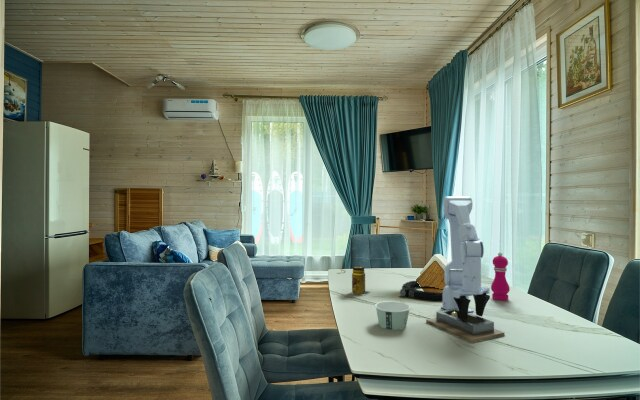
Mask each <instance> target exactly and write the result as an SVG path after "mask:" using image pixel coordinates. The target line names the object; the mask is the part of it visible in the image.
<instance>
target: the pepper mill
mask: <svg viewBox="0 0 640 400" xmlns="http://www.w3.org/2000/svg"><path fill="white" fill-rule="evenodd" d="M492 265H493V266H494V267H493V271H494V273H495V274H494V279H493V281H492V282H491V285H490V289H491V292H492V295H491V296H492V297H491V298H492V299H493V300H495V301H502V302H505V301H508V300H509V295H508V294H509V292H510V290H511V289H510V284H509V283H508V281H507V278H506V272H507V271H508V270H507V266H508V265H509V260H508V259H507V257H505V256H503V253H502V252H498V253H497V256H494V257H493V259H492Z"/></svg>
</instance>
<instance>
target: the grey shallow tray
mask: <svg viewBox="0 0 640 400" xmlns="http://www.w3.org/2000/svg"><path fill="white" fill-rule="evenodd" d="M452 312H456V313H457V318H456V317H454V316H451V313H452ZM435 313H436V314H435V316H436V317H435V318H436V320H437V321H439V322H442V323H444V324H446V325H449V326H451V327H453V328H456V329H458V330H460V331H463V332H465V333H468V334H470V335H472V336H475V335H480V334H484V333H489V332H494V329H495V322H494V321H492V320H490V319H486V318H484V317H482V316H478V315H476V314H473V313H471V312H468V317H467V319H463V318H461V316H460V312H459V309H449V310H447V309H444V310H439V311H435Z"/></svg>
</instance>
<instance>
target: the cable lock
mask: <svg viewBox="0 0 640 400" xmlns="http://www.w3.org/2000/svg"><path fill="white" fill-rule="evenodd" d="M416 288H421V287H420V286H419V284H418V283H417V280H411V281H407V282H405V283H403V285H402V286H401V289H400V291H399V292H400V295H401V297H403V298H408V297H409V298H413V299H414V298H415V299H420V300H423V301H424V300H425V301H439V302H440V301H442V302H443V293H440V292H437V291H436V292H434V291H424V290H420V289H416Z"/></svg>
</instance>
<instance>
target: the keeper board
mask: <svg viewBox="0 0 640 400" xmlns="http://www.w3.org/2000/svg"><path fill="white" fill-rule="evenodd" d="M451 316H454V317H456V318H457V313H456V312H452V313H451ZM425 322H426V324H428V323H429V325H431V326H433V325H434V326H433V327H435V326H436V328H437V327H438V328H437V329H440V330H442V331H444V332H446V331H447V333H448V332H449V333H448V334H451V335H454V336H455V337H457V336H458V338H460V339H462V340H464V341H466V340H467V342H469V343H471V344H474V343H477V341H478V342H482V341H481V340H483V341H487V340H491V339H490V338H492V339H495V338H500V337H505V336H506V335H505V332H504V331H502V330H499V329H496V328H494V332H489V333H484V334H480V335H475V336H472V335H470V334H468V333H465V332H463V331H460V330H458V329H456V328H453V327H451V326H449V325H446V324H444V323H442V322H439V321H437V320H436V317H433V318H428V319H425ZM486 339H487V340H486Z"/></svg>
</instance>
